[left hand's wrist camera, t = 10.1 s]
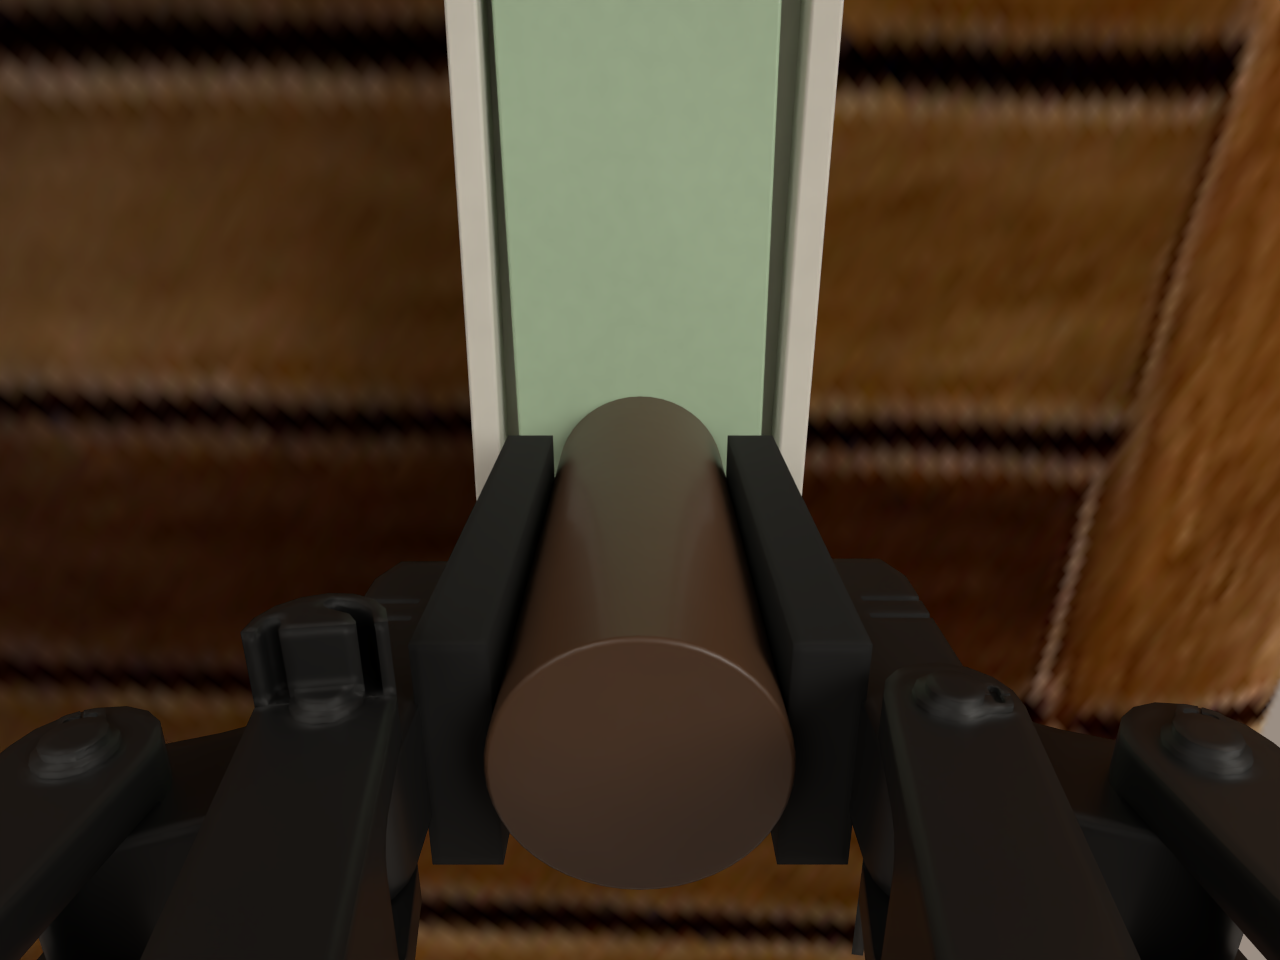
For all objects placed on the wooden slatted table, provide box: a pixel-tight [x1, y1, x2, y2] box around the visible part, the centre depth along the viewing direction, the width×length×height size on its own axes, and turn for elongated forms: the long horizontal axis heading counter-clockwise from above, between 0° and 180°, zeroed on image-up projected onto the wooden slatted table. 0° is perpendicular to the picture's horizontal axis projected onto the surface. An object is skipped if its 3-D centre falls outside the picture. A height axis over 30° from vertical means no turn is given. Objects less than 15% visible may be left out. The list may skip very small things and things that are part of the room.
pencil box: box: [444, 0, 844, 500], centre depth 16 cm, size 24×6×6 cm, turn 179°
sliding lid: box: [484, 0, 796, 890], centre depth 10 cm, size 16×4×9 cm, turn 0°
